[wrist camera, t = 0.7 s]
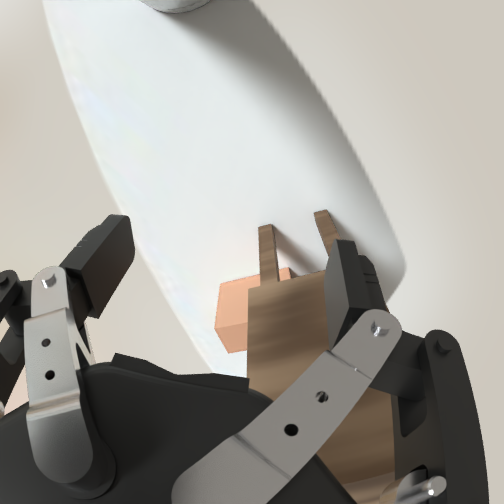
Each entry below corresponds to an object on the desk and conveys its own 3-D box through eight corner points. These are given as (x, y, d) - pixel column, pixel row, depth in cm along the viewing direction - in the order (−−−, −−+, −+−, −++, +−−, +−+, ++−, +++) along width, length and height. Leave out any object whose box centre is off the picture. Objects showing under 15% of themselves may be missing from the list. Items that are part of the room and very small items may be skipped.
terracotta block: (220, 283, 40) (214, 328, 33) (288, 267, 38) (295, 311, 32) (231, 308, 42) (228, 353, 35) (295, 293, 41) (303, 338, 34)
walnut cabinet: (239, 230, 35) (222, 497, 12) (334, 205, 34) (443, 453, 10) (277, 333, 45) (289, 524, 21) (351, 316, 43) (400, 502, 19)
